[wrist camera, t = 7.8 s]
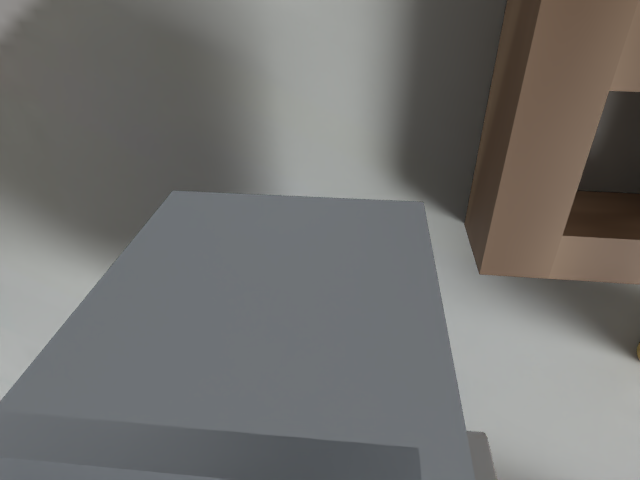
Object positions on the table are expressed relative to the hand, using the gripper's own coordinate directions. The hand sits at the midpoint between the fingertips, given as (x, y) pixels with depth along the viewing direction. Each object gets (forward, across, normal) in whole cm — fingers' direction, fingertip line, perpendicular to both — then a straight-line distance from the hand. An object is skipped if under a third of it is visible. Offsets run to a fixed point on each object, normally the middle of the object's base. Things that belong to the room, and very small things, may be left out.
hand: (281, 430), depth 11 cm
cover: (+3, 0, 0) cm, 3 cm away
